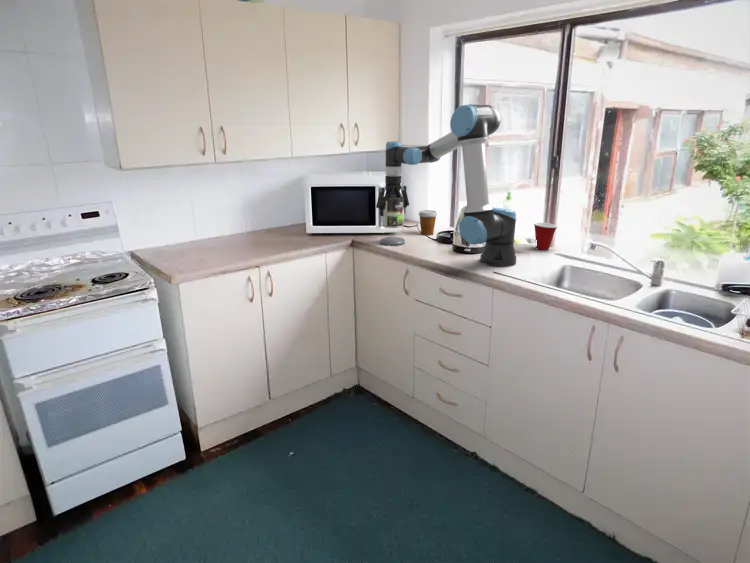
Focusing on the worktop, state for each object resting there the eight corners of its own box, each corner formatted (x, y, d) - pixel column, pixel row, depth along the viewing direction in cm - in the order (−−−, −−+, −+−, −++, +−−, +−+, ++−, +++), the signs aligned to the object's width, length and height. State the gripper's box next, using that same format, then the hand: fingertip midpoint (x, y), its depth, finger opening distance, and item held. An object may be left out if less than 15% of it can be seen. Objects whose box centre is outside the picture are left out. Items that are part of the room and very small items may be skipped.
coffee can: (407, 225, 247) (407, 196, 242) (395, 229, 239) (395, 199, 234) (390, 222, 252) (390, 194, 248) (377, 226, 245) (377, 197, 240)
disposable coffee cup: (421, 236, 261) (422, 213, 257) (415, 232, 270) (416, 210, 266) (438, 235, 263) (439, 212, 259) (432, 231, 272) (433, 209, 268)
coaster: (409, 243, 246) (409, 240, 246) (388, 247, 240) (388, 244, 240) (396, 238, 256) (396, 236, 255) (375, 241, 250) (375, 238, 250)
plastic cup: (559, 250, 234) (563, 225, 231) (540, 252, 231) (542, 226, 227) (545, 245, 244) (548, 220, 240) (526, 246, 241) (528, 222, 237)
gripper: (408, 173, 246) (407, 217, 253) (368, 175, 235) (368, 222, 243) (417, 174, 240) (416, 220, 247) (376, 177, 229) (376, 225, 236)
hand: (392, 221), depth 245 cm, fingers closed on coffee can, 10 cm apart
